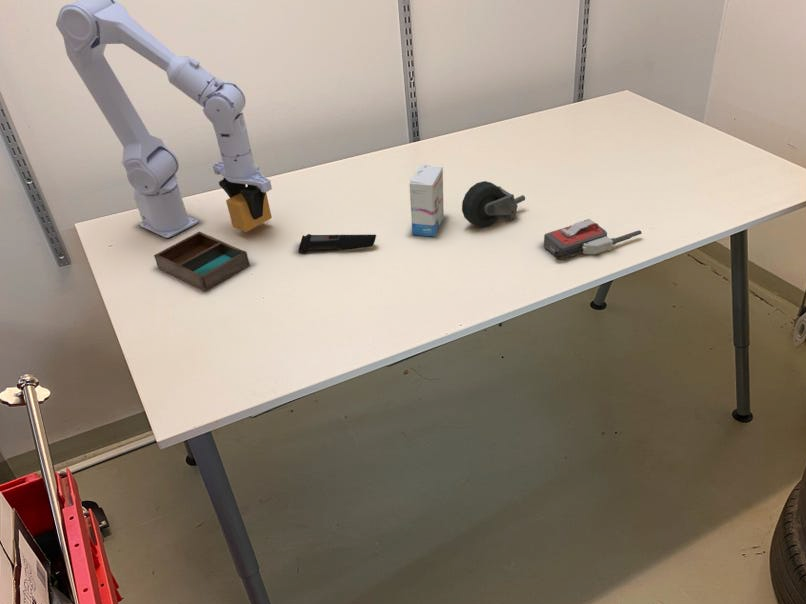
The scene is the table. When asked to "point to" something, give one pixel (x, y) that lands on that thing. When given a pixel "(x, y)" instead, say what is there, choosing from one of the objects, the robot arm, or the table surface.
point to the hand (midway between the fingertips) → (250, 214)
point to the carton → (245, 213)
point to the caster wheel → (488, 204)
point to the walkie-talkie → (581, 240)
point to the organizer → (202, 260)
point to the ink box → (426, 200)
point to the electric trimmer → (336, 242)
